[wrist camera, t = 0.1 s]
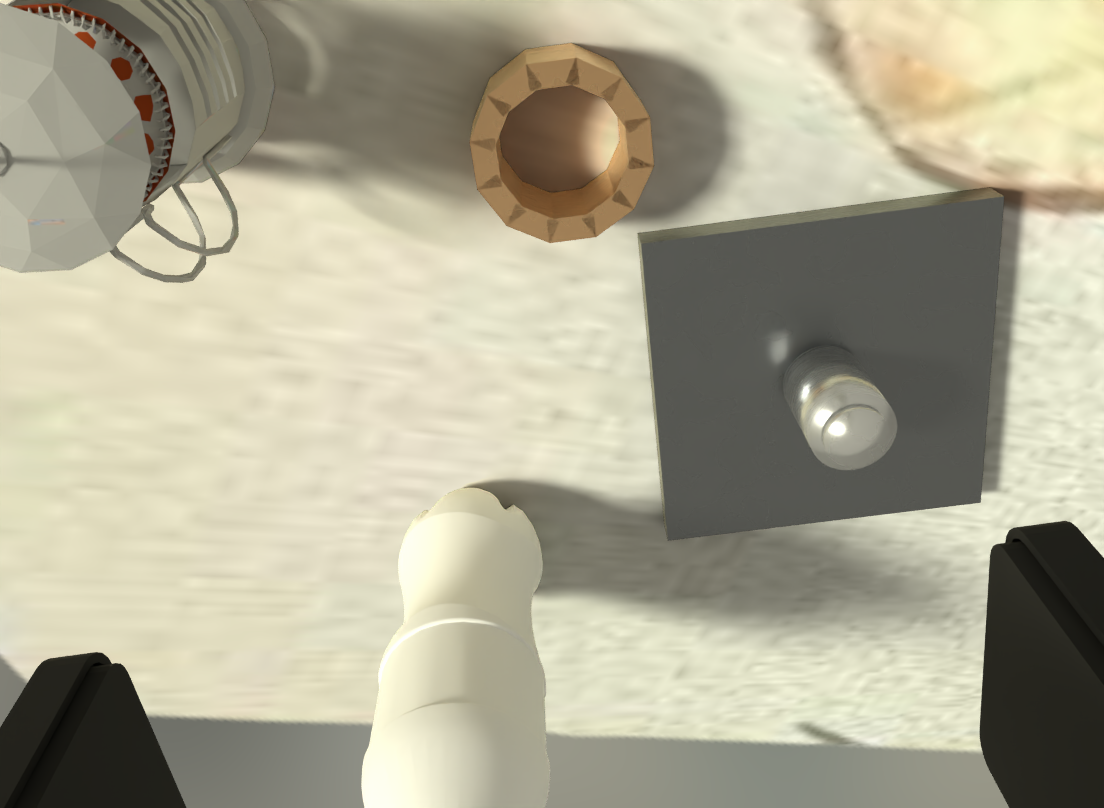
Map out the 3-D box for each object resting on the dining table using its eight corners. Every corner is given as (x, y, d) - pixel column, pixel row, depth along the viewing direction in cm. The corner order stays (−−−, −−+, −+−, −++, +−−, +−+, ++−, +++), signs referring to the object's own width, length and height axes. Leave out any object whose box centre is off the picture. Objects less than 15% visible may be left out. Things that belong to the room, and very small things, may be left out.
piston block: (637, 233, 47) (656, 288, 40) (990, 187, 46) (1064, 235, 40) (663, 524, 54) (683, 609, 48) (968, 487, 54) (1029, 568, 47)
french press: (151, -114, 40) (-313, -108, 18) (351, 128, 44) (183, 379, 22) (-17, 44, 42) (-613, 226, 20) (188, 259, 47) (-113, 604, 24)
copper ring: (463, 57, 43) (458, 73, 39) (634, 34, 43) (644, 47, 39) (489, 222, 46) (487, 251, 43) (648, 202, 46) (659, 228, 43)
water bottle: (567, 512, 53) (603, 962, 31) (496, 606, 56) (482, 1083, 34) (448, 449, 52) (395, 880, 29) (379, 550, 54) (284, 1015, 32)
